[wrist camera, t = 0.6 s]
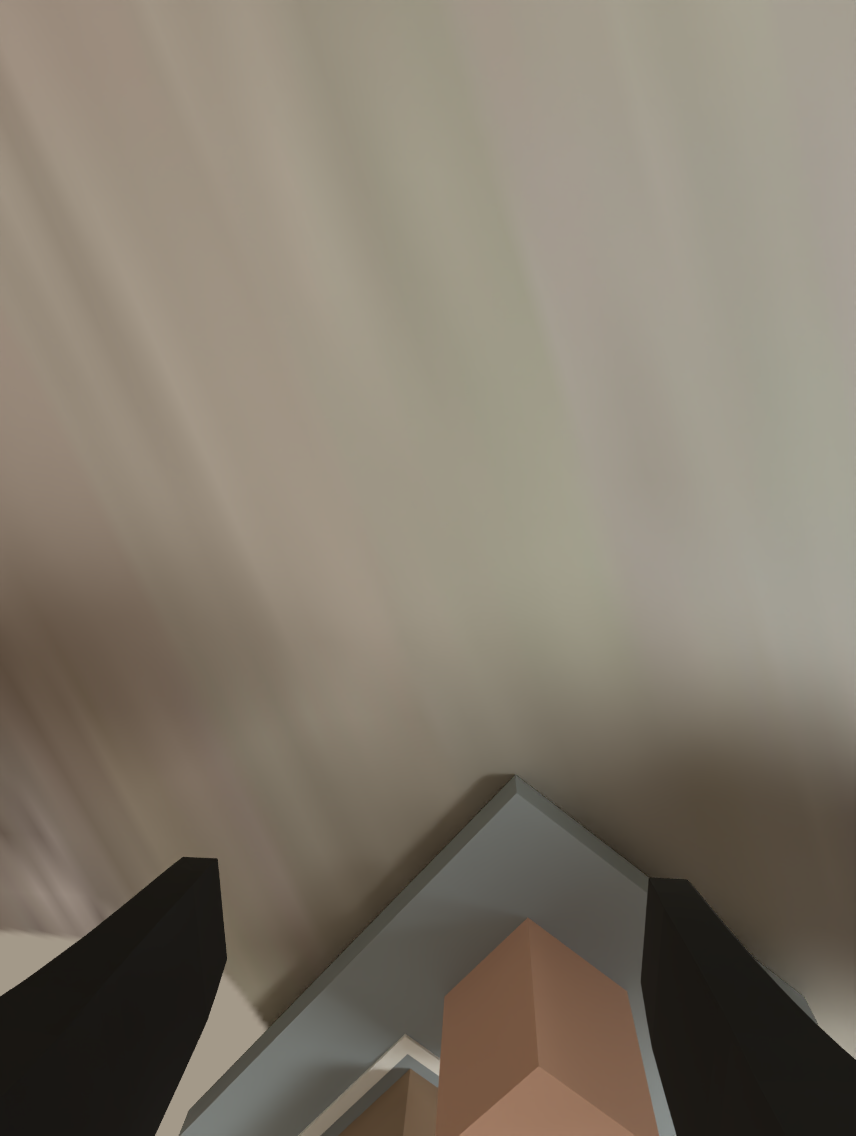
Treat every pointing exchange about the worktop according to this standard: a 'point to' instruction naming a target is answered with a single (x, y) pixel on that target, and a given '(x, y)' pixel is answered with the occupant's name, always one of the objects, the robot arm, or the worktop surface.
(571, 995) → the top block
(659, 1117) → the build board
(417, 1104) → the base block
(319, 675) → the worktop surface
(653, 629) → the worktop surface
